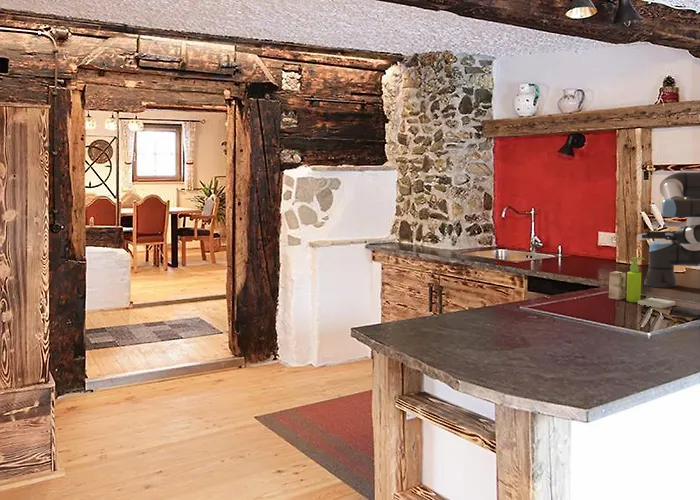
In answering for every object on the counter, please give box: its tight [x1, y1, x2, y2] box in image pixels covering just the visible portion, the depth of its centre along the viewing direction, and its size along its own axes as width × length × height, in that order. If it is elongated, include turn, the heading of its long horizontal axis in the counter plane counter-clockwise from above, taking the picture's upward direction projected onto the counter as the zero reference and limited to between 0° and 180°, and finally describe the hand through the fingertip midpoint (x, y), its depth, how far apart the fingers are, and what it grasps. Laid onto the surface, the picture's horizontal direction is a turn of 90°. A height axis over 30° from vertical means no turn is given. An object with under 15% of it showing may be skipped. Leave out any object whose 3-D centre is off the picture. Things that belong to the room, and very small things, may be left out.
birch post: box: [608, 270, 627, 301], centre depth 308 cm, size 5×5×12 cm
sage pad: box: [637, 297, 676, 309], centre depth 293 cm, size 11×11×2 cm
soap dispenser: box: [625, 256, 645, 303], centre depth 300 cm, size 6×7×20 cm
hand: (648, 239), depth 298 cm, fingers open, 13 cm apart
